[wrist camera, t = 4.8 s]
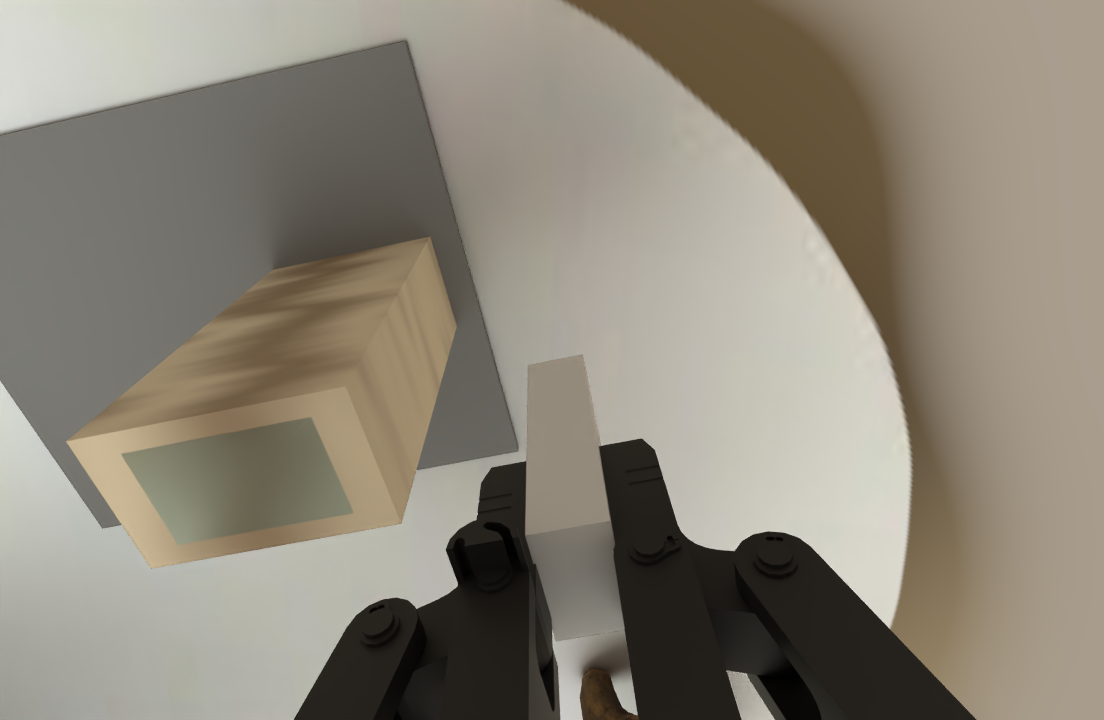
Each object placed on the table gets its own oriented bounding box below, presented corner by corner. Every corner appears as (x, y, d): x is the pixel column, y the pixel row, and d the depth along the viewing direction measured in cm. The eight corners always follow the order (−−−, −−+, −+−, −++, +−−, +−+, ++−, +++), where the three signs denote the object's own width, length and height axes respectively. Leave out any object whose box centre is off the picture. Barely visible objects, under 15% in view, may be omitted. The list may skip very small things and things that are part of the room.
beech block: (308, 355, 30) (151, 568, 18) (272, 269, 28) (65, 441, 16) (456, 326, 30) (401, 523, 17) (429, 236, 28) (345, 386, 15)
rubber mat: (106, 523, 35) (102, 528, 35) (-137, 167, 26) (-146, 169, 26) (518, 447, 34) (518, 451, 33) (406, 41, 25) (404, 41, 24)
